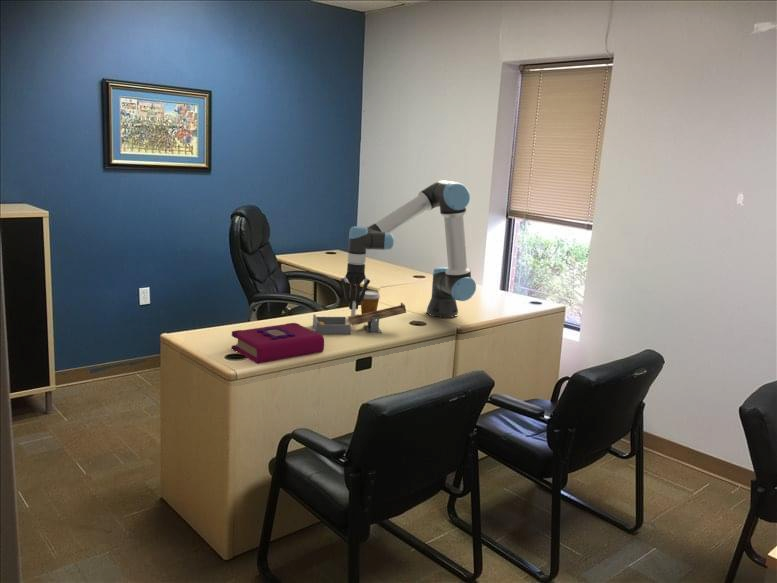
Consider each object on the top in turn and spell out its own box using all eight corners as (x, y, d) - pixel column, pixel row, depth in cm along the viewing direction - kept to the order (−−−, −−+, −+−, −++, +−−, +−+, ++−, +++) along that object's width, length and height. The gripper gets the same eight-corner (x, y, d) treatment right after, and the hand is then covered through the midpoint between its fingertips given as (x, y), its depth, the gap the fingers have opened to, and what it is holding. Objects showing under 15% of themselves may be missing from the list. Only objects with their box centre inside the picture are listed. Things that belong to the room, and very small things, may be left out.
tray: (345, 325, 282) (345, 314, 281) (350, 334, 270) (350, 322, 268) (312, 325, 279) (313, 314, 278) (316, 334, 266) (316, 322, 265)
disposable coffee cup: (379, 316, 302) (381, 291, 300) (377, 321, 293) (379, 295, 290) (359, 314, 303) (361, 289, 300) (356, 319, 294) (358, 293, 291)
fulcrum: (376, 326, 284) (377, 311, 283) (382, 333, 274) (383, 318, 273) (363, 326, 283) (364, 311, 282) (368, 333, 273) (369, 318, 271)
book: (324, 353, 244) (324, 334, 242) (257, 365, 226) (258, 344, 224) (294, 339, 259) (294, 321, 258) (229, 349, 241) (230, 329, 240)
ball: (315, 325, 274) (320, 329, 275) (315, 327, 271) (321, 331, 272) (319, 319, 274) (325, 323, 275) (320, 321, 271) (326, 325, 272)
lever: (400, 306, 288) (398, 299, 287) (406, 312, 277) (404, 305, 277) (347, 318, 284) (346, 311, 283) (352, 325, 273) (350, 317, 272)
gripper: (369, 262, 281) (366, 314, 286) (340, 261, 278) (336, 314, 283) (373, 265, 274) (369, 319, 279) (342, 264, 271) (339, 318, 276)
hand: (353, 316), depth 281 cm, fingers closed
